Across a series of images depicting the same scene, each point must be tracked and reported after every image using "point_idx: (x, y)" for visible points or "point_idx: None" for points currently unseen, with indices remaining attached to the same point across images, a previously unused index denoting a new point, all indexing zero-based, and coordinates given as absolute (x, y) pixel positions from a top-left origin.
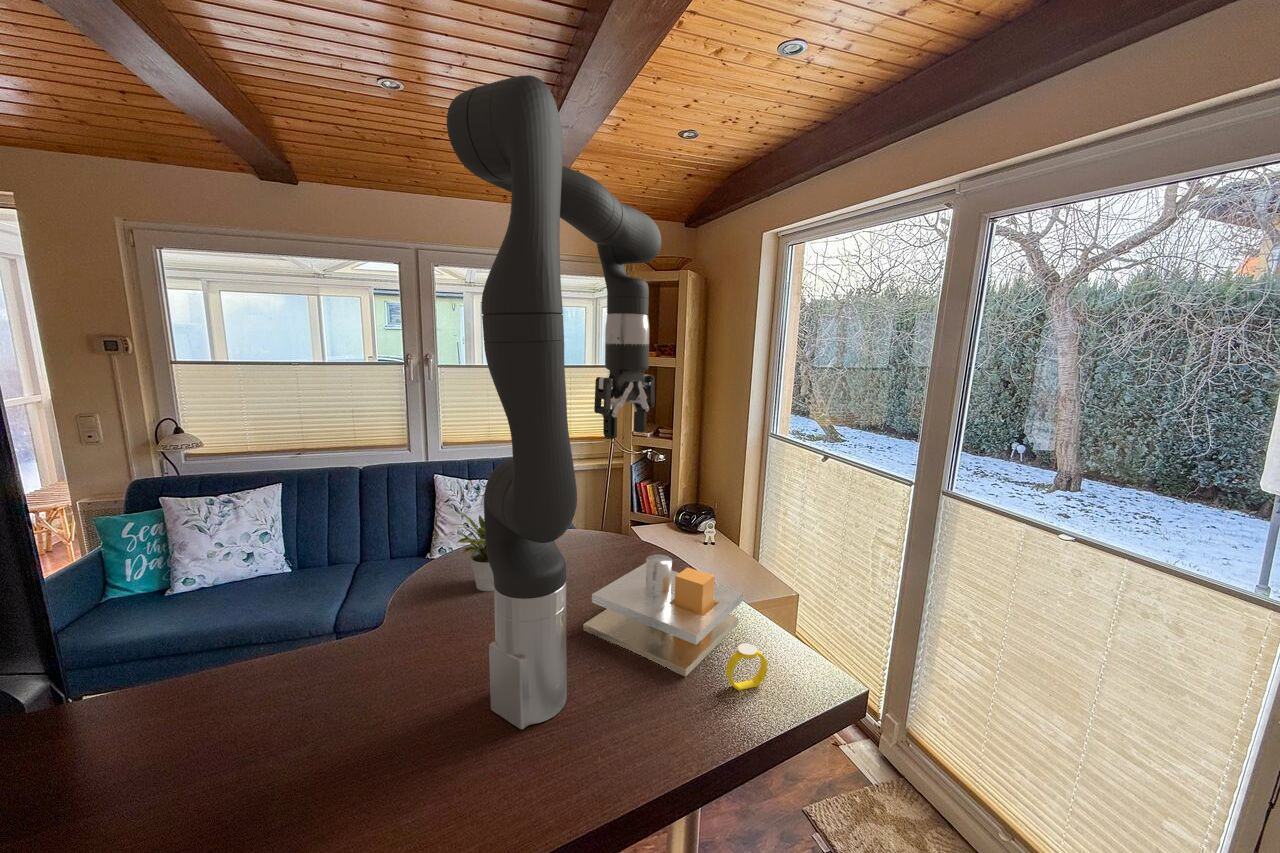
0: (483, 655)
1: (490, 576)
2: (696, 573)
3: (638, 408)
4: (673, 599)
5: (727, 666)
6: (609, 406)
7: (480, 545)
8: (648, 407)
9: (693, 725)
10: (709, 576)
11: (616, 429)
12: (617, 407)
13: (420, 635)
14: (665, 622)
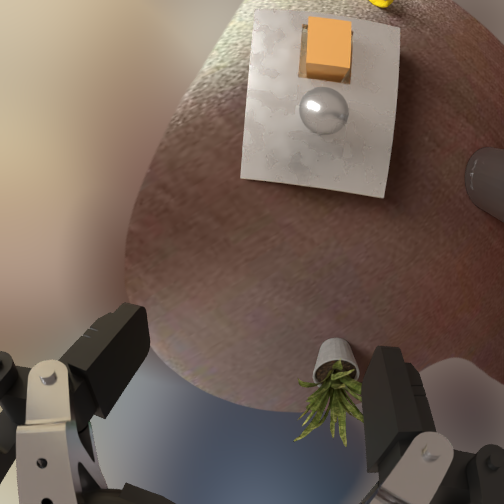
0: (454, 263)
1: (350, 352)
2: (319, 42)
3: (83, 416)
4: (334, 82)
5: (389, 2)
6: (486, 487)
7: (343, 391)
8: (38, 372)
9: (445, 30)
10: (316, 21)
11: (392, 374)
12: (411, 487)
13: (441, 333)
14: (397, 70)
